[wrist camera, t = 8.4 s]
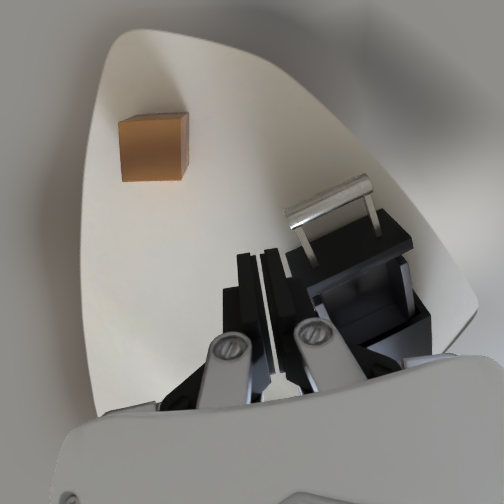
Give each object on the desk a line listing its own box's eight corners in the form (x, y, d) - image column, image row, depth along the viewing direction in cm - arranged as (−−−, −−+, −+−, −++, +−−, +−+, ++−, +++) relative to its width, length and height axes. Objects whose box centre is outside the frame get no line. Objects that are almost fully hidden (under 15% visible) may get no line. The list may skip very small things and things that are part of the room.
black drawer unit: (311, 313, 35) (327, 364, 28) (400, 271, 32) (430, 314, 26) (340, 369, 41) (353, 412, 35) (410, 336, 39) (431, 375, 33)
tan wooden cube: (135, 114, 22) (118, 121, 18) (189, 112, 22) (181, 118, 19) (138, 165, 24) (122, 182, 20) (189, 164, 25) (181, 181, 21)
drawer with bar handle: (257, 203, 26) (265, 235, 21) (365, 153, 24) (397, 173, 19) (325, 331, 35) (337, 368, 30) (402, 294, 33) (423, 327, 28)
